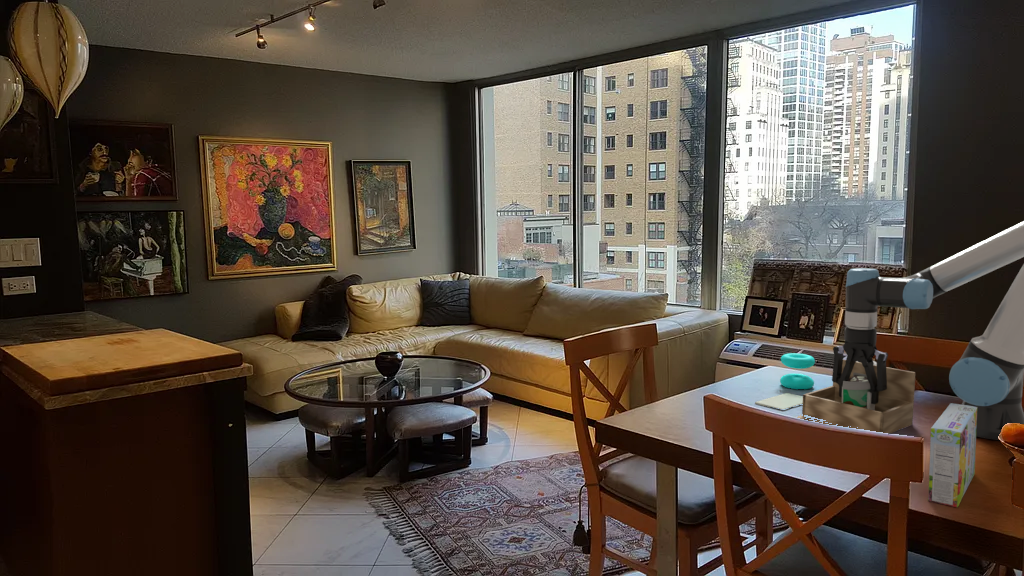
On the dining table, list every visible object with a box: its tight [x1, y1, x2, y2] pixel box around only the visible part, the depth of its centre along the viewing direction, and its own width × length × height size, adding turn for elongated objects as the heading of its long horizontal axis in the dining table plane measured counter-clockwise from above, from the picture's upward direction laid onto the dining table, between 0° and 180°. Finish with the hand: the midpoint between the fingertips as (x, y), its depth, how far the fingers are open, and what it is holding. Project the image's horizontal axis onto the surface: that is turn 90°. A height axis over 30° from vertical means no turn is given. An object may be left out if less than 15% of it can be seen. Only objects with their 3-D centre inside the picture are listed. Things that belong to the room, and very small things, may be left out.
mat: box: [754, 392, 803, 409], centre depth 199 cm, size 9×16×1 cm, turn 125°
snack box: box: [927, 402, 977, 508], centre depth 138 cm, size 21×6×15 cm, turn 139°
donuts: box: [779, 352, 816, 390], centre depth 215 cm, size 10×10×10 cm
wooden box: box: [797, 358, 916, 434], centre depth 179 cm, size 22×22×14 cm
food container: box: [842, 373, 871, 409], centre depth 180 cm, size 12×6×10 cm, turn 141°
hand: (857, 412), depth 181 cm, fingers closed on food container, 6 cm apart
